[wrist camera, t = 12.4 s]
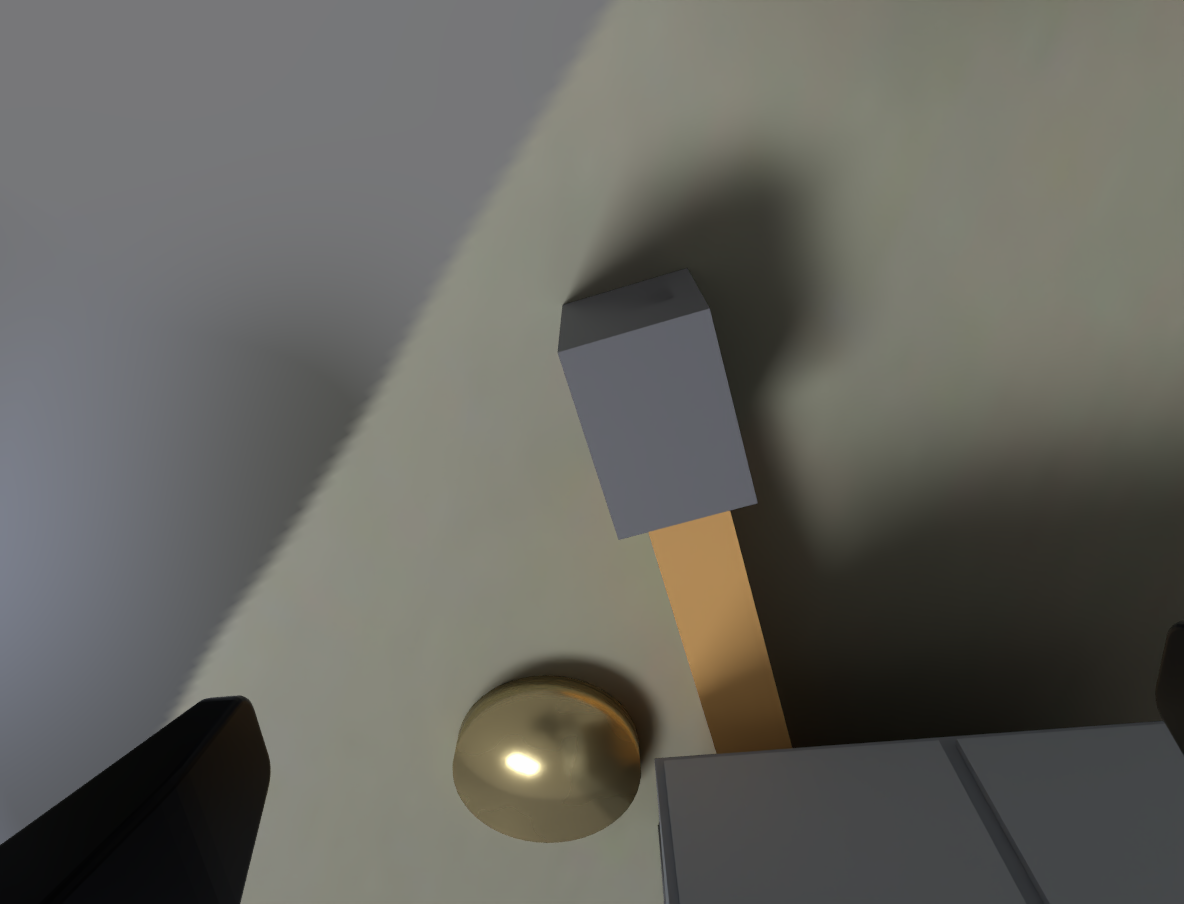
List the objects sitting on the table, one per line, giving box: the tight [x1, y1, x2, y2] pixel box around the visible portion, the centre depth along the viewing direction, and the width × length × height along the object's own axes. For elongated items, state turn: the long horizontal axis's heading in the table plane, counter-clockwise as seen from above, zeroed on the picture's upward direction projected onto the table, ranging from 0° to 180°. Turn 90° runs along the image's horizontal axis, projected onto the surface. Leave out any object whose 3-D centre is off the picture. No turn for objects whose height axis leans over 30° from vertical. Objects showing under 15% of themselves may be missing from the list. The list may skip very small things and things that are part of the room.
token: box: [453, 675, 641, 843], centre depth 23 cm, size 5×5×1 cm
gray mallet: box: [558, 268, 792, 754], centre depth 20 cm, size 3×15×4 cm, turn 17°
